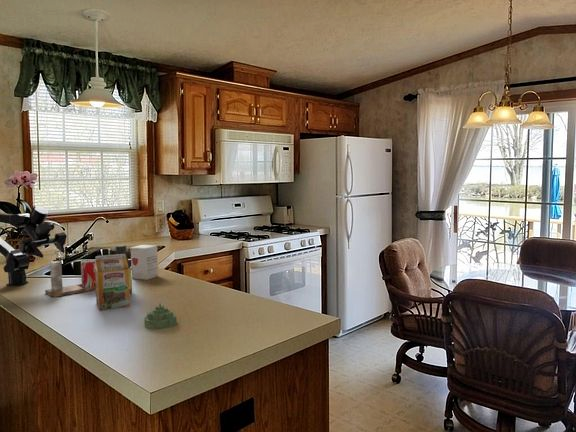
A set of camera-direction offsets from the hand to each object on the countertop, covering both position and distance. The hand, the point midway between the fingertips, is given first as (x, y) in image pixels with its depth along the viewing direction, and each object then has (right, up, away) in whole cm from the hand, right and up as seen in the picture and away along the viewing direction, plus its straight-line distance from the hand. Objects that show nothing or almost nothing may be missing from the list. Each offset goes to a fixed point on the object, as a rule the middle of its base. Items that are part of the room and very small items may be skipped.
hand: (53, 254), depth 203 cm
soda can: (+14, -15, +3) cm, 21 cm away
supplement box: (+32, -13, +23) cm, 42 cm away
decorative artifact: (+58, -19, -48) cm, 78 cm away
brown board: (+10, -15, -1) cm, 18 cm away
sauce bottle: (+32, -16, -7) cm, 37 cm away
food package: (+34, -17, -25) cm, 46 cm away
